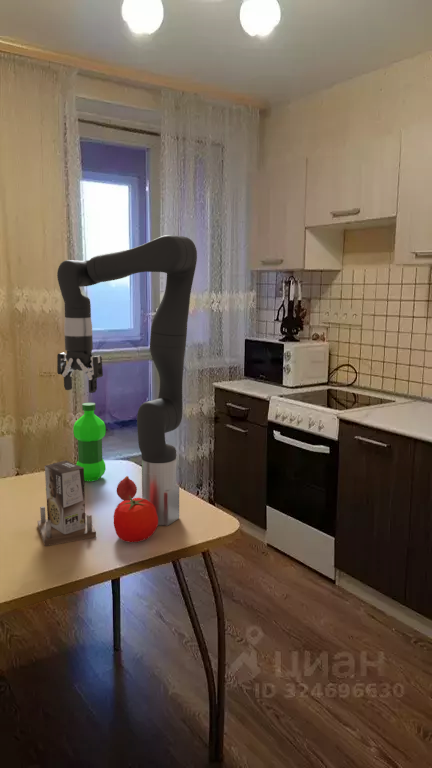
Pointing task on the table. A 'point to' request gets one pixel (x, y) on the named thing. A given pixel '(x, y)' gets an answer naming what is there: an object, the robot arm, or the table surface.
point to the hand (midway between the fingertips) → (80, 391)
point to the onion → (126, 489)
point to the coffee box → (65, 496)
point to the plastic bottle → (90, 443)
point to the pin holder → (56, 537)
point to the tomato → (135, 520)
